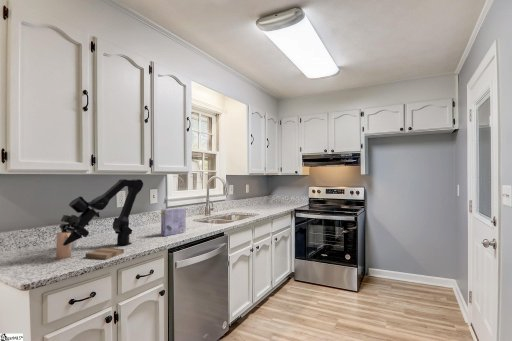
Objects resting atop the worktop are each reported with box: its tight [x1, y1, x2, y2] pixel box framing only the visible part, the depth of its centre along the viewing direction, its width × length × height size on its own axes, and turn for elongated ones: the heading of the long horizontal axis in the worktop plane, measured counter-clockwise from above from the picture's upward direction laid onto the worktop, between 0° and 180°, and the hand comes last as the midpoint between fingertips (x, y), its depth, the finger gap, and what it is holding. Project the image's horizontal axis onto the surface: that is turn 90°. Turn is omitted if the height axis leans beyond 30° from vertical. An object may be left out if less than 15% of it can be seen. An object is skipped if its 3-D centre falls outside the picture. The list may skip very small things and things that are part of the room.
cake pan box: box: [160, 207, 187, 237], centre depth 199 cm, size 19×5×18 cm, turn 146°
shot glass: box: [71, 239, 80, 249], centre depth 161 cm, size 7×7×7 cm
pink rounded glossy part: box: [55, 231, 72, 260], centre depth 140 cm, size 6×6×12 cm
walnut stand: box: [85, 247, 125, 260], centre depth 144 cm, size 12×12×2 cm
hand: (60, 244), depth 139 cm, fingers closed on pink rounded glossy part, 6 cm apart
